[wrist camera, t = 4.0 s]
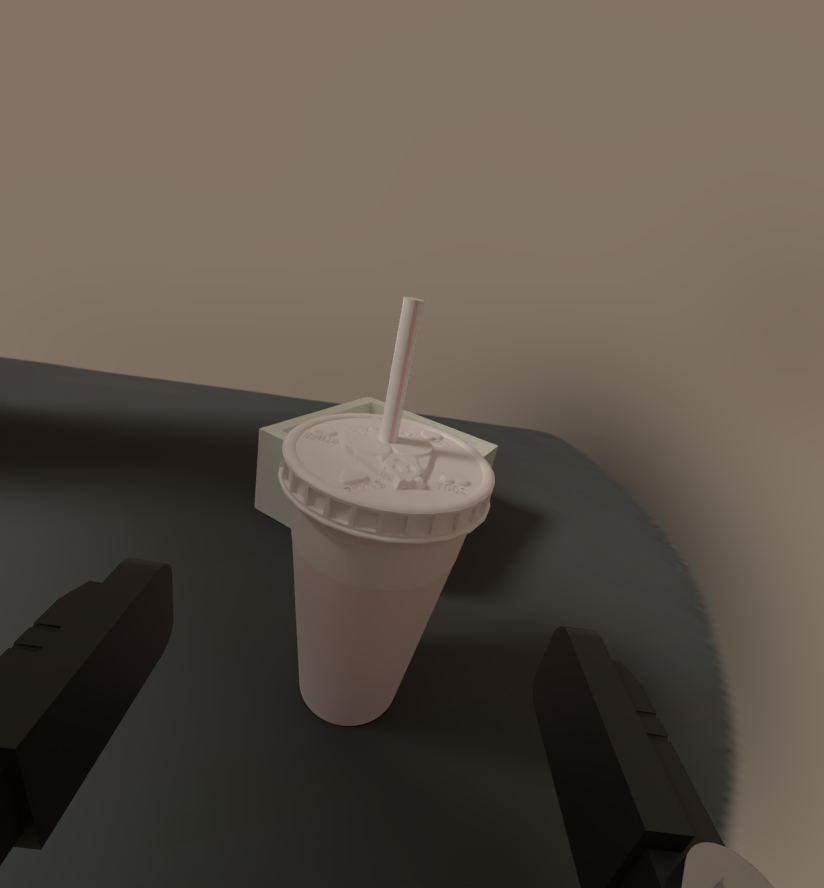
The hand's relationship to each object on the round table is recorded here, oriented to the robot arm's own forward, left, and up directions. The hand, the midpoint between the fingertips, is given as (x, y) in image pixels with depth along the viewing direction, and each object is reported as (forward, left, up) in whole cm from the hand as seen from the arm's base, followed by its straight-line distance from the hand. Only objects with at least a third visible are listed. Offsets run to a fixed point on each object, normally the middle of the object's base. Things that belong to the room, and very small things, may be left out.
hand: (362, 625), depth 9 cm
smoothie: (-2, +4, -8) cm, 10 cm away
